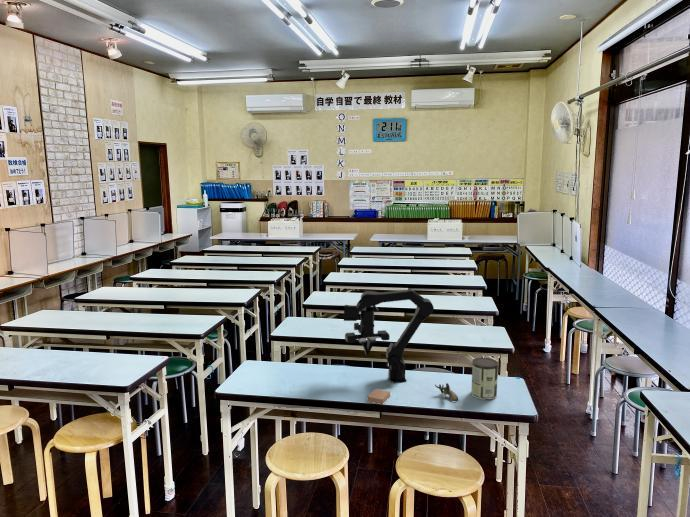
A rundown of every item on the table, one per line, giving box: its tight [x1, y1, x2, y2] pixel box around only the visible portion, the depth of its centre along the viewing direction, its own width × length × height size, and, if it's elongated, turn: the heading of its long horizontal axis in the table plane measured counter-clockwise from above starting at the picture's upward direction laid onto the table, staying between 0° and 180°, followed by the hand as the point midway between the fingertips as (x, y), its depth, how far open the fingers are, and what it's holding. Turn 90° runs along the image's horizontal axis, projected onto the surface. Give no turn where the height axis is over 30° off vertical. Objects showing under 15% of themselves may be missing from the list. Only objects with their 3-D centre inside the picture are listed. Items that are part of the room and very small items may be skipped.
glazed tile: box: [367, 388, 391, 405], centre depth 205 cm, size 2×6×8 cm
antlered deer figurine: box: [434, 381, 459, 402], centre depth 206 cm, size 8×7×9 cm
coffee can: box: [470, 357, 499, 400], centre depth 208 cm, size 10×10×14 cm
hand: (367, 355), depth 223 cm, fingers closed
